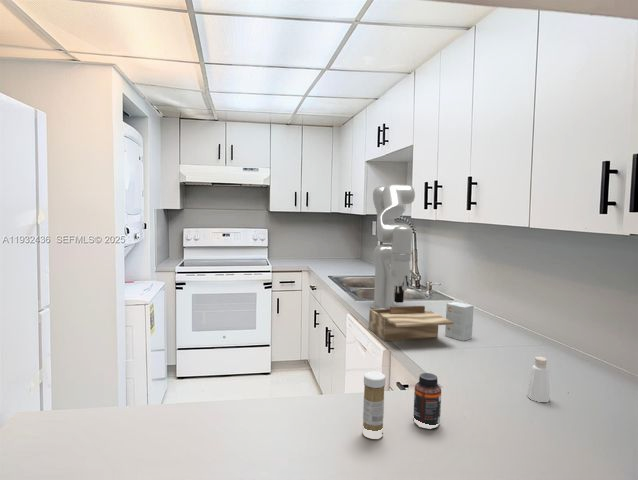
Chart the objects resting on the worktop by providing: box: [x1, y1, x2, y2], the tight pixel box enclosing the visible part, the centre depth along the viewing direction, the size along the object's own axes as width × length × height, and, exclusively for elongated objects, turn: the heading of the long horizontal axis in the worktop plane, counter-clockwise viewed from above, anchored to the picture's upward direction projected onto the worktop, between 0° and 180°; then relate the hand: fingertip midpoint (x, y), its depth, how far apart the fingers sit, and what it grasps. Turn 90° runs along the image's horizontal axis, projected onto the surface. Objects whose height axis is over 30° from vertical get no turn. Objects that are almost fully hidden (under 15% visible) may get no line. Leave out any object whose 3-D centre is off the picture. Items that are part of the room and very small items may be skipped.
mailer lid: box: [379, 305, 453, 327], centre depth 153 cm, size 16×22×3 cm
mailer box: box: [368, 308, 439, 342], centre depth 163 cm, size 16×22×8 cm
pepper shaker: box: [526, 356, 551, 403], centre depth 109 cm, size 5×5×11 cm
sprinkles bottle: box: [362, 371, 386, 431], centre depth 89 cm, size 5×5×13 cm
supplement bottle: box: [413, 372, 442, 425], centre depth 94 cm, size 6×6×11 cm
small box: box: [444, 301, 474, 342], centre depth 160 cm, size 8×6×13 cm
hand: (398, 301), depth 167 cm, fingers closed
